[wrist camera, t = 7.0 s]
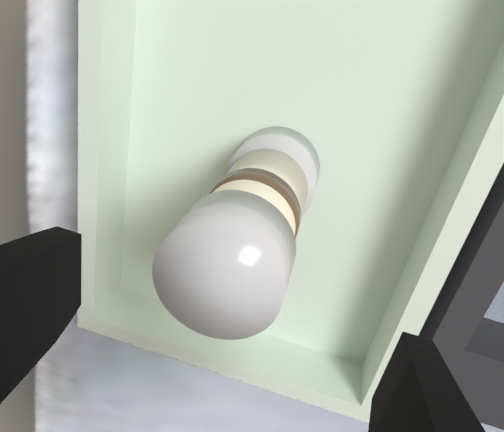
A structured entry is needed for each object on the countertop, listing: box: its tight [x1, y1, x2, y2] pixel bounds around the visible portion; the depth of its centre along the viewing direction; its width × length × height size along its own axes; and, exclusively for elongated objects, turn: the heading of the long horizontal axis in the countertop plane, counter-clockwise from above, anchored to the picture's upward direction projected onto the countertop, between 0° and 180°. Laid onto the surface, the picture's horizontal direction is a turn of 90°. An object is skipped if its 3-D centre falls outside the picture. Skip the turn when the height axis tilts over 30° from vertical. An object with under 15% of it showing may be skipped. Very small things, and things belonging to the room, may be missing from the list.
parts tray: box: [77, 0, 504, 423], centre depth 17 cm, size 20×14×3 cm
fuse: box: [152, 126, 320, 340], centre depth 14 cm, size 3×3×8 cm
